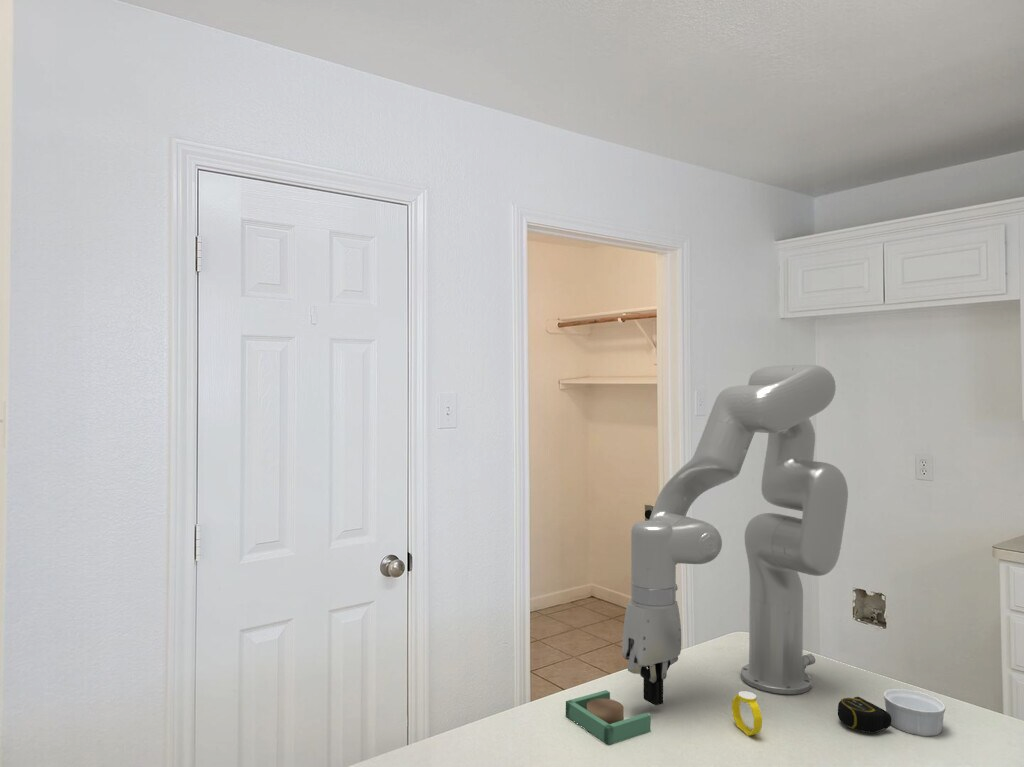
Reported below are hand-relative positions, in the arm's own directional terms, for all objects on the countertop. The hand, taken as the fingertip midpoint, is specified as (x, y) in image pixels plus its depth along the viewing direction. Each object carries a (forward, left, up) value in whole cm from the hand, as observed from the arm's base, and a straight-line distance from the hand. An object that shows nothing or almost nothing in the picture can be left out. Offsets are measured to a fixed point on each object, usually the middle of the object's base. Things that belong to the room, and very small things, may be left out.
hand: (653, 701), depth 117 cm
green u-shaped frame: (+10, 0, -1) cm, 10 cm away
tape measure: (-26, +22, -2) cm, 34 cm away
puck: (+11, 0, -2) cm, 11 cm away
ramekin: (-34, +26, -2) cm, 43 cm away
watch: (-8, +13, -2) cm, 15 cm away
